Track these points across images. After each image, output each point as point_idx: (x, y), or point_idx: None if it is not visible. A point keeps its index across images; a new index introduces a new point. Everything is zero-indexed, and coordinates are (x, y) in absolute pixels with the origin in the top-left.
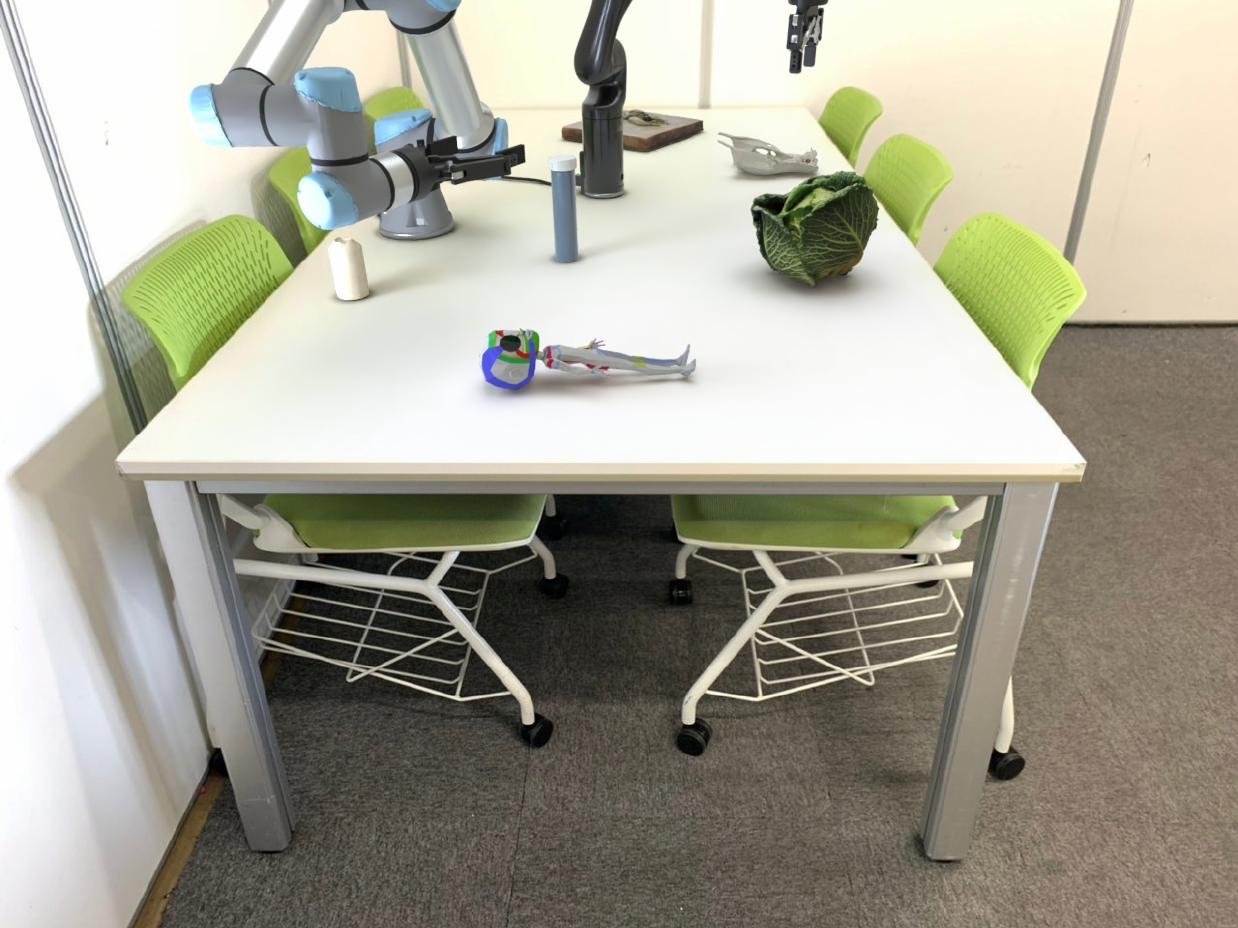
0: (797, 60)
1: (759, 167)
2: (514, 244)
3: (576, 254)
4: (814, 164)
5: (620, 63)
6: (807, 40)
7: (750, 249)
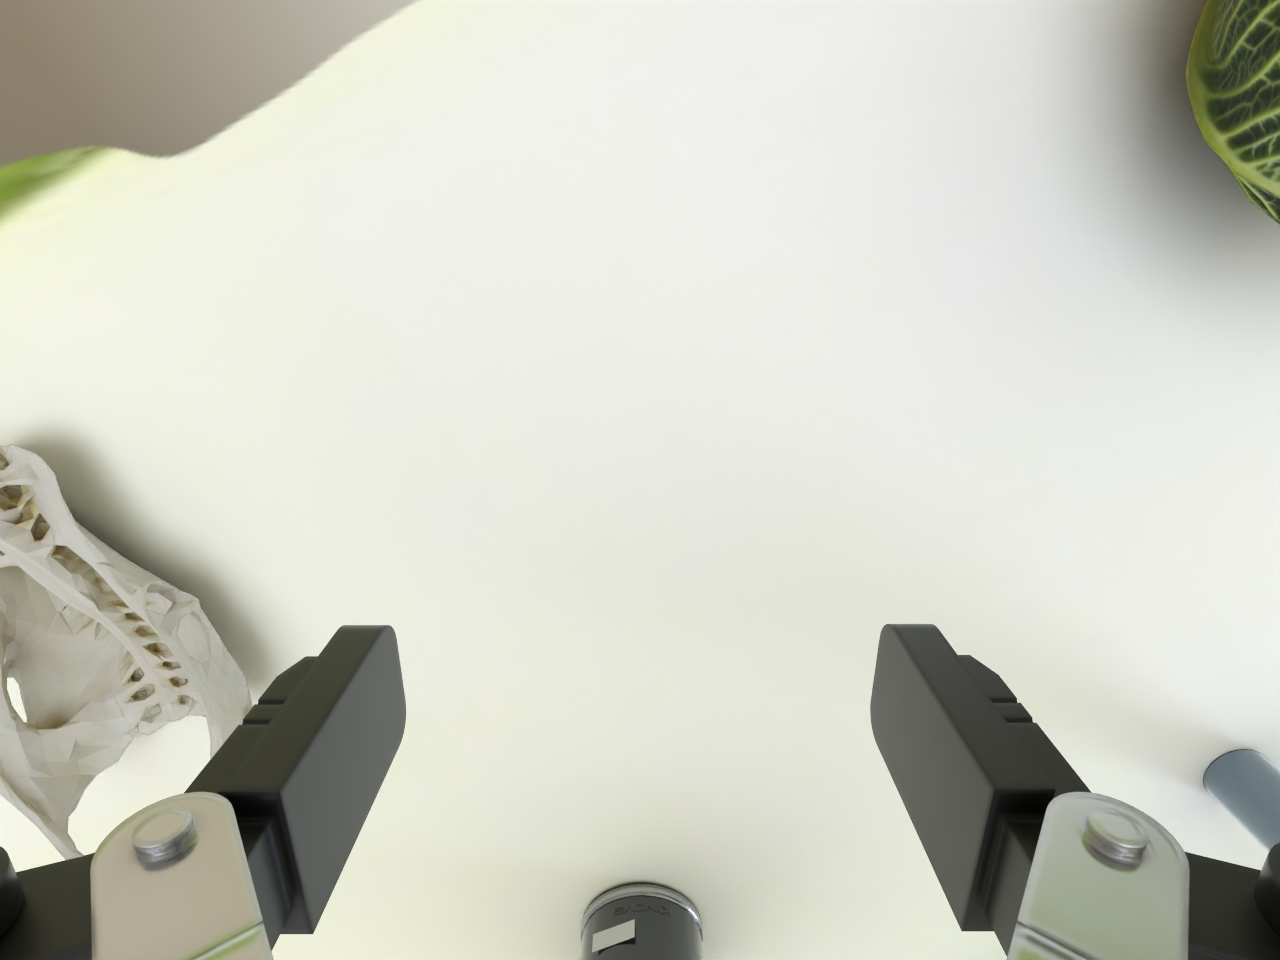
0: (1049, 747)
1: (214, 635)
2: None
3: (1259, 761)
4: (9, 466)
5: None
6: (1042, 941)
7: (1034, 358)
